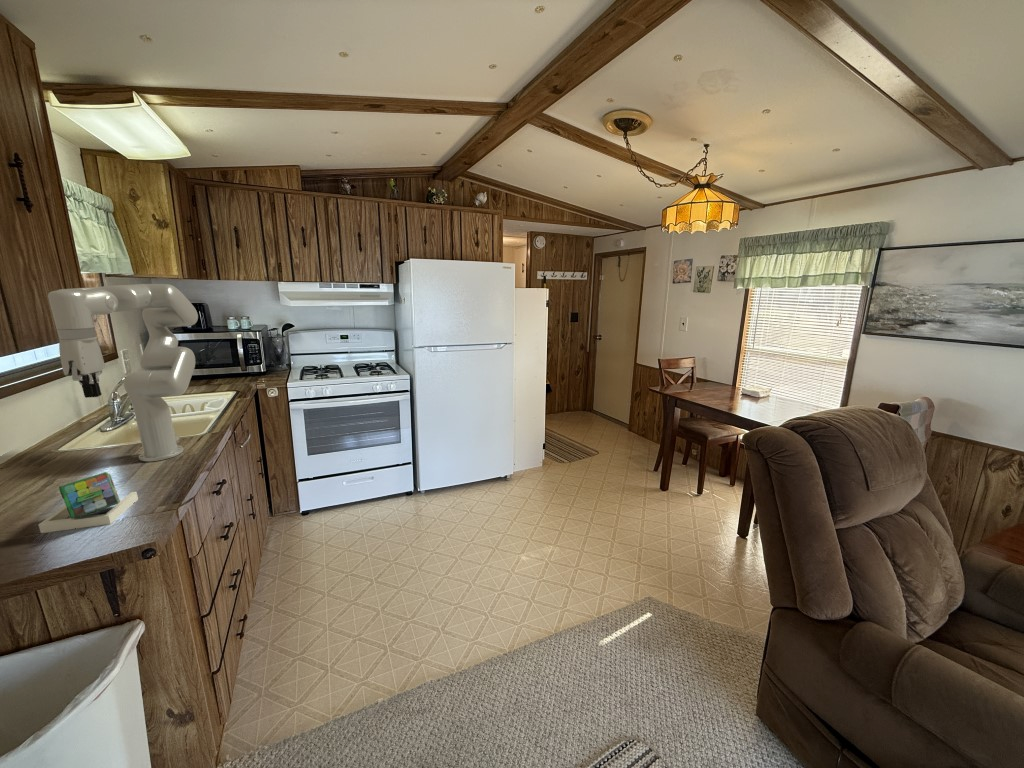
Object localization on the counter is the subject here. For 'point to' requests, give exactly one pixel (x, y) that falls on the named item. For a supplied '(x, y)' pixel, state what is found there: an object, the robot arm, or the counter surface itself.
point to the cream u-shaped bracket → (85, 517)
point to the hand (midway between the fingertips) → (93, 396)
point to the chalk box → (89, 495)
